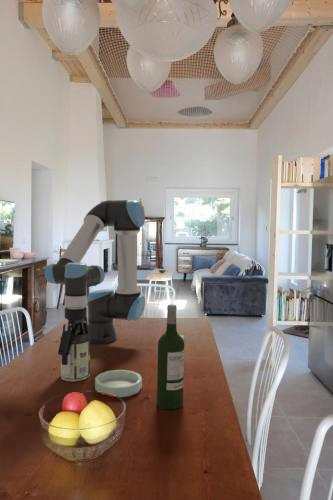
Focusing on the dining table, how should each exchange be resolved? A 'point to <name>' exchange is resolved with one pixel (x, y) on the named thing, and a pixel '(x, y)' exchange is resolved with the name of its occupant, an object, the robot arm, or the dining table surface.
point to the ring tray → (119, 382)
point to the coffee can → (78, 359)
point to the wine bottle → (170, 365)
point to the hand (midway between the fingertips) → (75, 366)
